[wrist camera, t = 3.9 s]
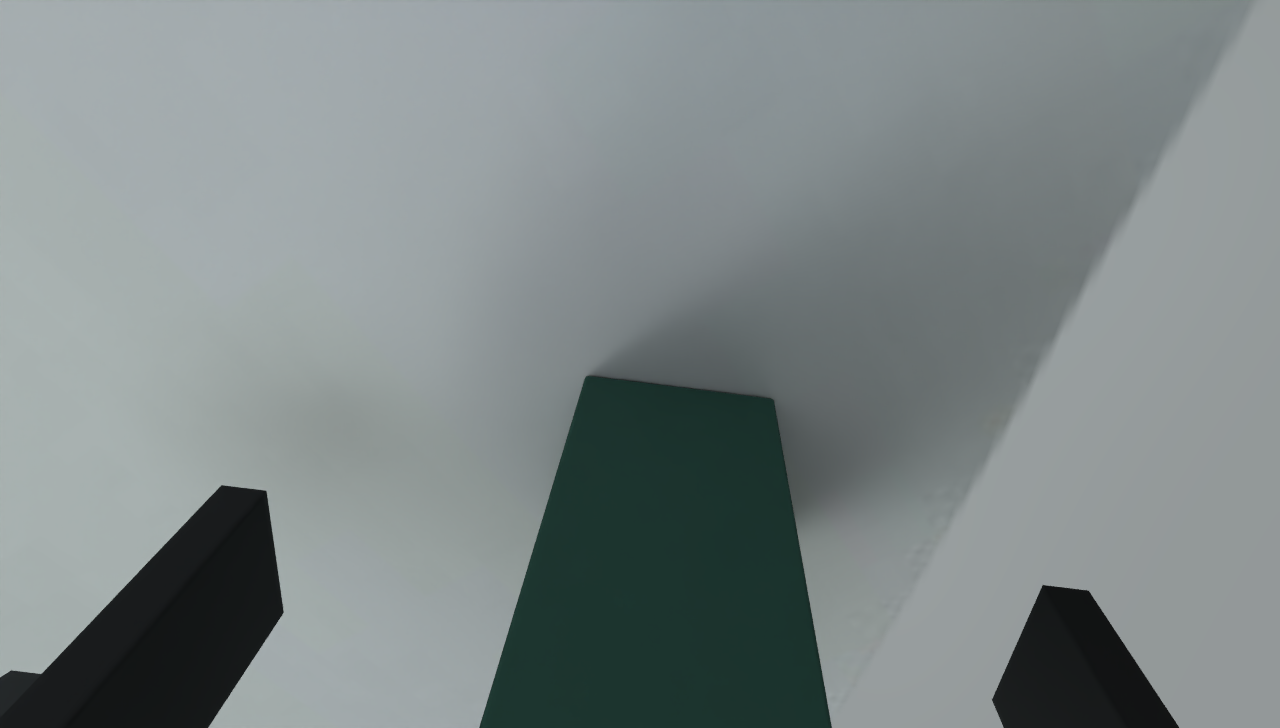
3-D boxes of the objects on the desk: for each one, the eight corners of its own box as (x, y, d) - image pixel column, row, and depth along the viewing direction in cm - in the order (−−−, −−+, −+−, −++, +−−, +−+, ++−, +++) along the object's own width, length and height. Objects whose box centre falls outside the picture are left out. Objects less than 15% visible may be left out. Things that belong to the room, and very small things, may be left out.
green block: (774, 397, 16) (849, 812, 8) (743, 547, 18) (778, 1011, 10) (585, 373, 16) (467, 762, 8) (573, 525, 18) (467, 966, 10)
